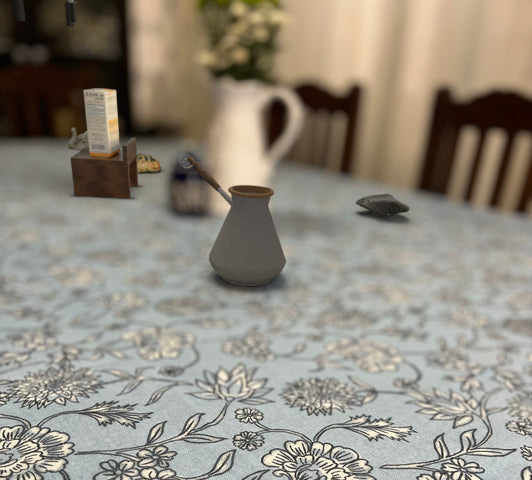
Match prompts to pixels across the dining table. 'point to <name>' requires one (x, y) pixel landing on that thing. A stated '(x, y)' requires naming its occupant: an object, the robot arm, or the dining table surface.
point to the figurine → (78, 141)
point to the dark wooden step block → (105, 173)
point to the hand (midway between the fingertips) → (45, 23)
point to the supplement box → (102, 122)
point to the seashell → (382, 205)
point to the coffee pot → (245, 235)
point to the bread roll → (147, 163)
